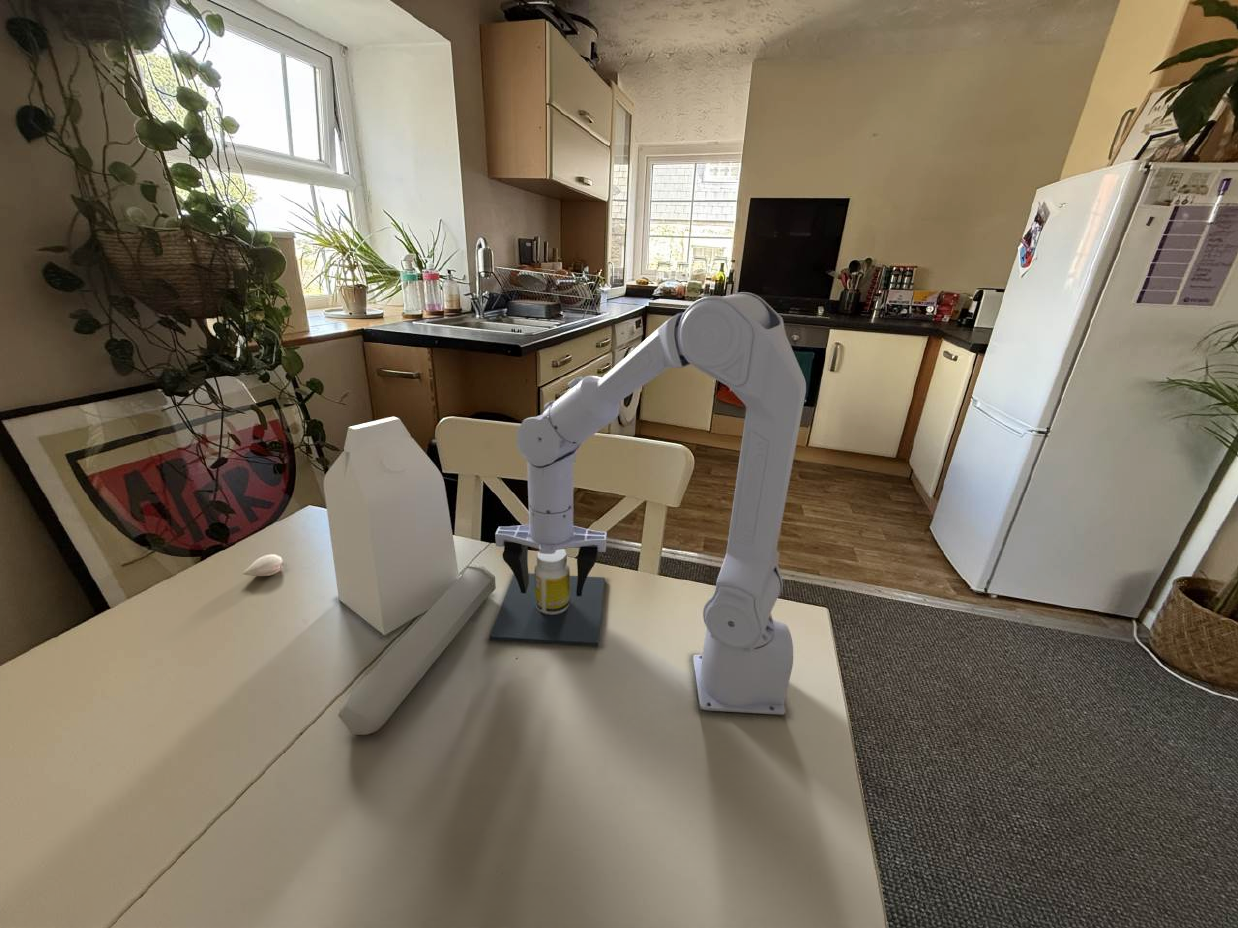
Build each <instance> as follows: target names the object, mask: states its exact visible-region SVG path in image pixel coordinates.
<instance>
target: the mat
mask: <svg viewBox="0 0 1238 928" xmlns="http://www.w3.org/2000/svg"><path fill="white" fill-rule="evenodd" d="M528 573H529V572H528ZM577 581H578V575H570V603H569V606H568V608H567V609H566V610H565V611H563V612H562V613H559V614H554V615H550V614H545V613H542V612H540V611H539V610H538V609H537V607H536V597H535V573H529V585H528V588H527V591H526V593H521V591H520V587H519V584H518V582H517V579H516V577H515V575H514V574H513V576H512V577H511V580H510V584H509V586H508V588H507V591H506V593H505V596H504V599H503V601H502V604H501V607H500V609H499V611H498V614H497V616H496V619H495V622H494V624H493V627H492V629H491V632H490V634H489V640H490V641H499V642H500V641H501V642H518V643H531V644H532V643H534V644H548V645H566V646H567V645H569V646H584V647H586V646H587V647H599V641H600V633H601V623H602V622H601V621H602V612H603V603H604V602H603V601H604V591H605V582H606V577H603V576H602V577H601V576H600V577H599V576H587V578H586V580H585V583H584V586H583V591H582V596H577V595H576V590H577Z"/></svg>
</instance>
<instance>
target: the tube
mask: <svg viewBox="0 0 1238 928" xmlns="http://www.w3.org/2000/svg"><path fill="white" fill-rule="evenodd" d="M496 589H497V585H496V576H495V575H494V574H493V573H492V572H491V571H489V570H488V569H487V568H486V567H485V566H482V565H477V564H472V563H469V565H467V567H466V568H465V569H464V570H463V571H462V573H461V575H460V576H459V579H458V580H457V581H456V582H455V583H454V584H453V585H452V586H451V587H450V588H449V589H448V590H447V591H446V592H445V594H444V595H443V596H442V597H441V598H440V599H439V600H438V601H437V602H436V603H435V604H434V605H433V606H432V607H431V608H430V609H429V610H427V611H426V613H424V615H423V616H422V617H421V618H420V619H419V620H418V621H417V622H416V623H415V624H414V625H413V626H412V628H410V630H408V631H407V633H406V634H405V635H404V636H402V638H401V639H400V640H399V641H398V642H397V643H396V644H395V645H394V646H393V647H392V649H390V651H389V652H387V653H386V655H384V657H383V658H382V659H381V660H380V661H379V662H378V663H377V664H376V665H375V666H374V668H373V669H372V670H371V671H370V672H369V673H367V675H366V676H365V677H364V678H363V679H362V680H361V681H360V682H359V683H358V685H357V686H355V688H353V690H352V691H351V692H350V693H349V694H348V695H347V696H346V697H345V699H344V700H343V701H342V704H341V706H340V709H339V712H338V717H339V718H340V720H341V721H342V723H343V724H344V725H345V727H346V728H347V729H348V731H349V733H350V734H351V735H356V736H357V735H359V736H368V735H371V734H375V733H377V732H378V731H379V730H380V729H381V728H382V727H383V726H384V725H385V724H386V723H387V721H388V720H389V718H390V717H391V716H392V715H393V713H395V711H396V710H397V709H398V708H399V706H400V705H401V704H402V702H403V701H404V700H405V699H406V698H407V696H408V695H409V694H410V693H411V692H412V691H413V689H414V688H415V686H416V685H417V684H418V683H419V682H420V680H421V679H422V678H423V676H424V675H425V674H426V673H427V672H428V671H429V669H430V668H431V667H432V666H433V664H434V663H435V662H436V661H437V659H438V658H439V657H440V656H441V654H442V653H443V652H444V651H445V650H446V648H447V647H448V646H449V644H450V643H451V642H452V641H453V640H454V638H455V637H456V636H457V635H458V634H459V632H460V631H461V630H462V628H463V627H464V626H465V625H466V623H467V622H468V621H469V620H470V619H471V617H472V616H473V615H474V613H476V611H477V610H478V609H479V607H481V605H482V604H483V602H484V601H485V600H486V599H488V598H489V597H490V596H491V595H492V594H493V593H494V591H495V590H496Z"/></svg>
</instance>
